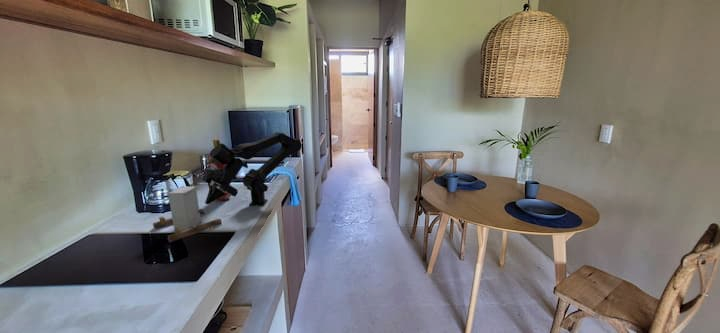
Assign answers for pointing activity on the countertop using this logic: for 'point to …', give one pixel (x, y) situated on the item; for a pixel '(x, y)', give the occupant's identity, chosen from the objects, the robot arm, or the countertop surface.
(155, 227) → the guide track
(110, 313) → the countertop surface
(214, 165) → the red white cylinder
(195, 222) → the skincare box
